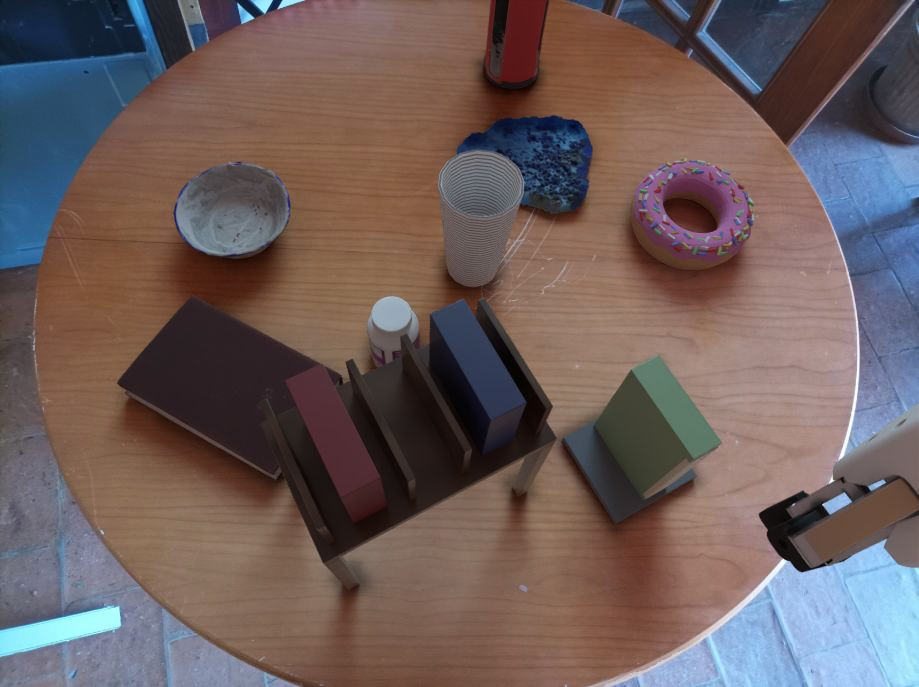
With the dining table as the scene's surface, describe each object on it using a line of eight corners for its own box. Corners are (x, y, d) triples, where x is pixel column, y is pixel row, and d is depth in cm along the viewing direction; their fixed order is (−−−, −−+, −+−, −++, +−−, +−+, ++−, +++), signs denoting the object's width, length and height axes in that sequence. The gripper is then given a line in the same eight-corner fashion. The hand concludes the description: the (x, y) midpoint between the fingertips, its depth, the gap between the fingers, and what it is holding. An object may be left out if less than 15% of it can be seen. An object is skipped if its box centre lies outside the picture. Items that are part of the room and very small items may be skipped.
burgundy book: (387, 506, 52) (380, 477, 44) (353, 524, 51) (340, 498, 44) (337, 405, 55) (322, 362, 48) (304, 421, 55) (284, 380, 47)
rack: (527, 491, 71) (571, 412, 49) (348, 590, 66) (310, 550, 45) (470, 394, 75) (488, 282, 54) (298, 480, 71) (241, 395, 49)
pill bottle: (422, 334, 78) (421, 291, 70) (418, 377, 76) (417, 339, 67) (374, 330, 78) (367, 287, 70) (368, 374, 76) (361, 335, 67)
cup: (486, 226, 85) (498, 137, 71) (521, 280, 82) (540, 199, 68) (423, 252, 83) (423, 166, 69) (457, 309, 80) (463, 231, 66)
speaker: (530, 97, 94) (551, -23, 78) (475, 82, 95) (485, -40, 78) (544, 58, 97) (568, -65, 81) (491, 44, 98) (505, -81, 82)
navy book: (512, 440, 55) (527, 402, 47) (481, 456, 54) (490, 420, 46) (459, 347, 58) (463, 298, 50) (429, 361, 57) (429, 313, 50)
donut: (606, 240, 85) (616, 215, 80) (656, 162, 90) (668, 135, 86) (714, 297, 82) (731, 275, 77) (759, 214, 87) (777, 188, 83)
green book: (667, 487, 71) (723, 443, 57) (642, 501, 70) (694, 460, 57) (616, 412, 74) (659, 354, 61) (593, 425, 73) (630, 369, 60)
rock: (582, 220, 86) (585, 210, 84) (446, 196, 86) (446, 186, 85) (595, 131, 92) (598, 121, 90) (468, 110, 93) (468, 99, 91)
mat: (693, 478, 72) (697, 476, 72) (614, 524, 70) (617, 522, 69) (638, 398, 76) (641, 395, 75) (561, 440, 74) (563, 437, 73)
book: (200, 305, 79) (191, 290, 76) (345, 383, 75) (342, 372, 72) (126, 395, 74) (113, 384, 71) (278, 484, 70) (271, 476, 68)
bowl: (171, 210, 84) (157, 185, 80) (271, 172, 87) (263, 146, 83) (208, 294, 79) (195, 272, 75) (313, 251, 82) (307, 227, 78)
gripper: (1096, 639, 16) (770, 655, 32) (1486, 332, 20) (1029, 478, 36) (874, 376, 19) (673, 509, 34) (1258, 151, 23) (925, 360, 39)
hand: (855, 493), depth 35 cm, fingers open, 9 cm apart
